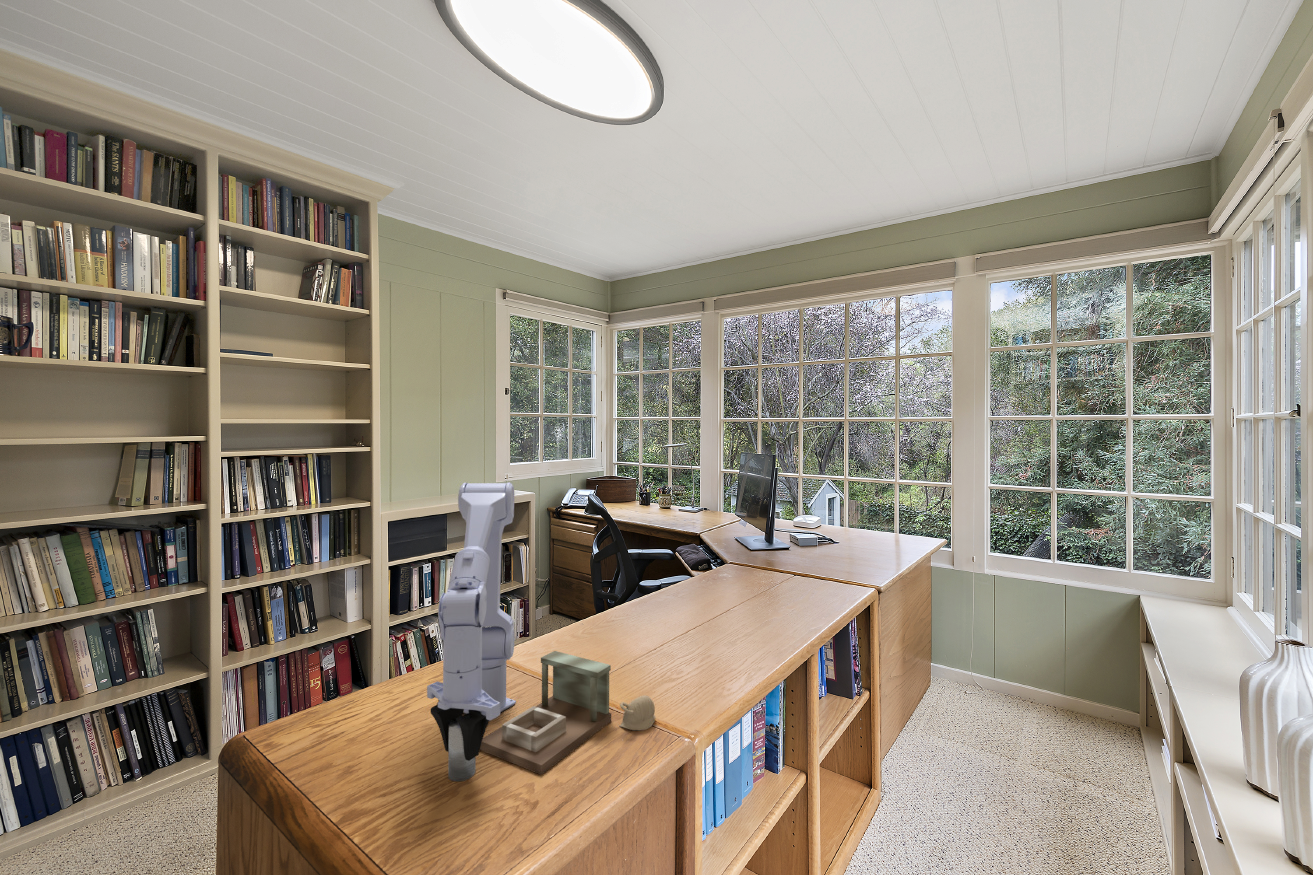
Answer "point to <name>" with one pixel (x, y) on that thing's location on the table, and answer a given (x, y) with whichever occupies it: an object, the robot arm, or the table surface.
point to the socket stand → (556, 715)
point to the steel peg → (458, 755)
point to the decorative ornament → (638, 713)
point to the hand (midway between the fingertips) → (462, 752)
